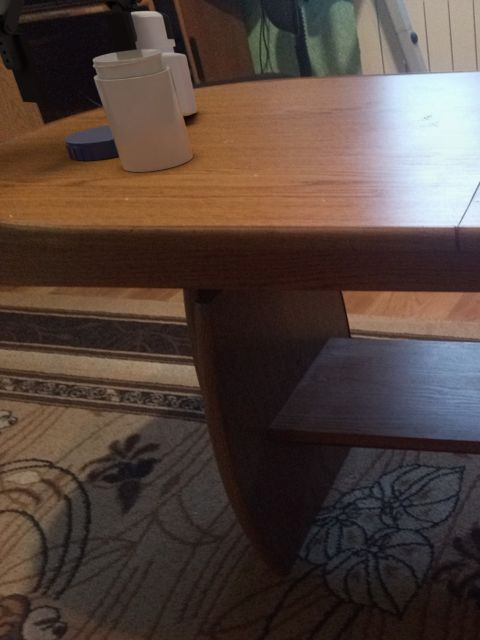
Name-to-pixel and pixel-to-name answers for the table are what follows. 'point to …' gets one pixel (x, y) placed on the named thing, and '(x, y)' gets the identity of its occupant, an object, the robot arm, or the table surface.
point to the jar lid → (91, 144)
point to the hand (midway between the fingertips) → (87, 87)
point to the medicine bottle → (166, 53)
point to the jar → (142, 110)
